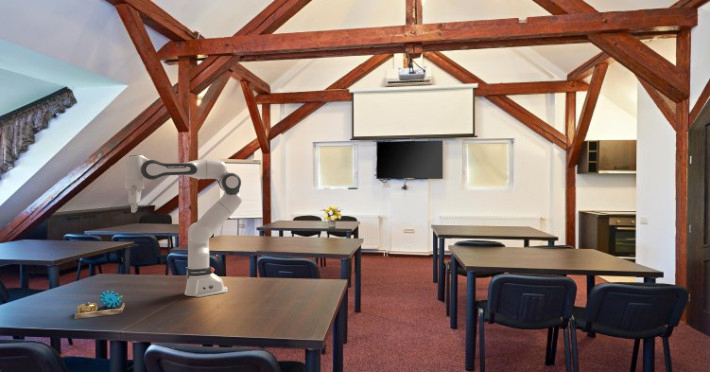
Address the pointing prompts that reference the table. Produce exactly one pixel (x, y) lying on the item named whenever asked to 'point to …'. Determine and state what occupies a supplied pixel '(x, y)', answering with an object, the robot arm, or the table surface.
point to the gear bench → (100, 312)
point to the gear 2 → (110, 299)
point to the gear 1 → (87, 307)
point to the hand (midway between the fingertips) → (134, 212)
